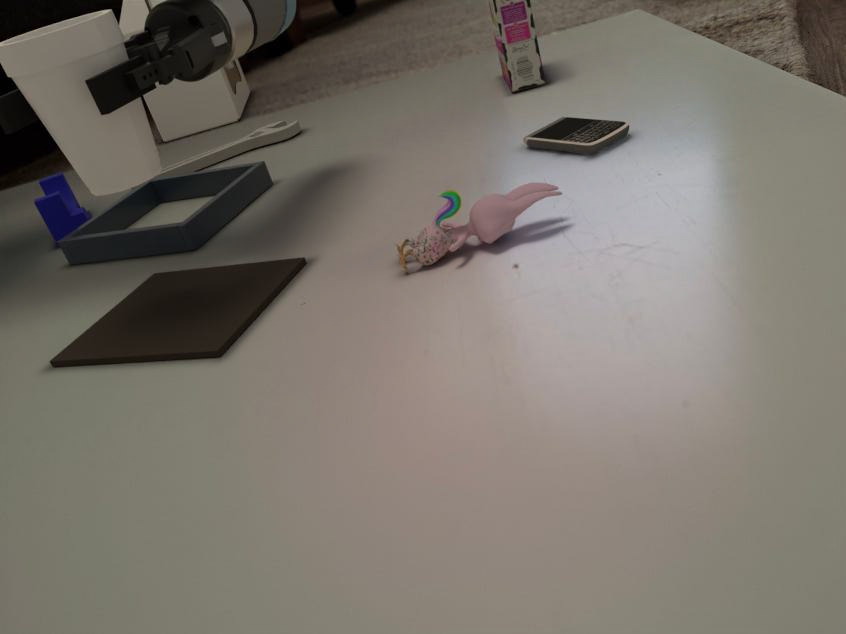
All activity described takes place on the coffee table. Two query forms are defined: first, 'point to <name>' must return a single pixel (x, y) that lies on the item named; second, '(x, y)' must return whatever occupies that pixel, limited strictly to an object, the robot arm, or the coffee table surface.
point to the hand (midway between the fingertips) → (47, 107)
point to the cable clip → (60, 207)
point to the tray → (112, 242)
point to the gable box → (188, 89)
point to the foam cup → (83, 100)
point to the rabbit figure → (473, 221)
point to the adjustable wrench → (233, 148)
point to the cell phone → (577, 135)
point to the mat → (182, 314)
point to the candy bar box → (516, 43)
